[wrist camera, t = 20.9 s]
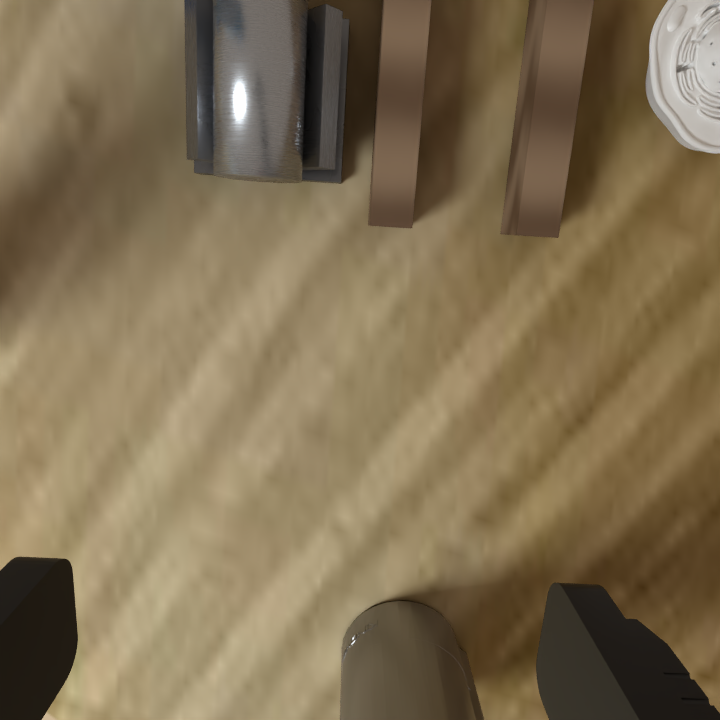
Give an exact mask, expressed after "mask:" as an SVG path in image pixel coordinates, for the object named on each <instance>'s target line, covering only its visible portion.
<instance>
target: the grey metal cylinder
mask: <svg viewBox="0 0 720 720" xmlns="http://www.w3.org/2000/svg"><path fill="white" fill-rule="evenodd" d="M307 16H308V0H213V151H214V176H218V177H223V178H229V179H237V180H247V181H258V182H273V183H300V182H302V160H303V131H304V103H305V74H306V45H307Z"/></svg>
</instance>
